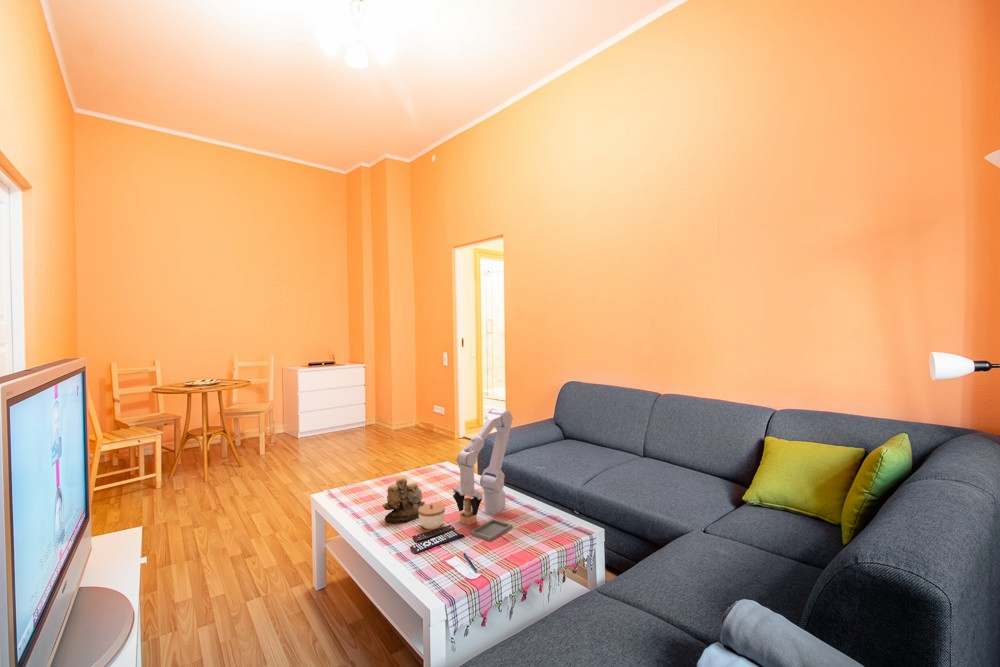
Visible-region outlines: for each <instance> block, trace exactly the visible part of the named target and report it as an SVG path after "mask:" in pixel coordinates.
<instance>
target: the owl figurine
mask: <svg viewBox="0 0 1000 667" xmlns="http://www.w3.org/2000/svg"><path fill="white" fill-rule="evenodd" d="M407 483H408V480H407V479H406V478H405V477H398V479H397V480H396V481H395V483H392V484H390V485H389V486H388V487H387V495H386V501H387V502H386V503H385V502H384V503H383V504H382V507H383V508H384V510H385V511H390V512H388V513H387V514H386V515H385V516H384V520H385V522H386V523H389V524H392V525H393V524H396V525H397V524H407V523H408V522H411V521H414V520H417V519H419V513H418V509H419V508H420V507H421V506H423V505H426V502H425V501H422V500H423V494H422V489H421V488H420V487H419V485H418V484H417V483H414V482H413V483H411V484H409V485H408V484H407Z"/></svg>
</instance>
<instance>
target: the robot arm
mask: <svg viewBox="0 0 1000 667" xmlns="http://www.w3.org/2000/svg"><path fill="white" fill-rule="evenodd" d="M485 415H486V418H485V422H484V424H483V425H482V427H481V429H480V430H479V432H478V434H477V435H475V436H473V437H471V439H470V441H469V442H468V444H467V445H466V446H465V448H464V449H463V450H460V452H458V454H457V456H456V463H458V468H459V478H460V479H459V480H460V481H459V484H460V486H454V487H453V488H452V491H453V492H452V493H454V494H453V495H452V496H453V499H454V500H455V503H456V505H457V509H458V511H459V512H462V511H464V499H465V498H466V497H465V496H467V497H470V498H471V499H470V502H471V507H472V514H473V516H475V515H476V516H477V515H478V512H479V507H480V504H481V503H482V500H483V501H484V502H483V505H484V506H483V508H481V509H480V511H481V512H484V513H487V514H488V513H489V514H491V515H496V514H498V513H500V512H502V511H503V510H505V509H507V507H508V506H506V492H505V490H504V486H505V473H504V472H503V471H502V467H503V462H504V457H505V452H506V449H507V445H508V441H509V437H510V436H509V435H510V432H511V426H512V424H513V418H514V417H513V415H512V413H511V411H510V410H503V409H497V408H491V409H489V410H488V412H487V413H486V414H485ZM493 429H495V430H496V436H495V439H494V444H493V448H492V451H491V456H490V461H489V465H488V467H486V468H485V469H483V472H482V474H481V476H480V479H479V484H480V487H482V490H483V493H482V492H479V491H478V490H476V489H475V465H476V464H477V460H478V455H479V453H480V452H481V450H482V449H483V448H484V446H485V440H486V438H487V437H488V436H489V435H490V433H491V432H492V431H493Z"/></svg>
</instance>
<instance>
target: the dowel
mask: <svg viewBox="0 0 1000 667" xmlns="http://www.w3.org/2000/svg"><path fill="white" fill-rule="evenodd" d="M470 499H472V497H464V509H463V512H464V517H471V516H472V505H471V502H470Z"/></svg>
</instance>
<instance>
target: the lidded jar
mask: <svg viewBox="0 0 1000 667" xmlns="http://www.w3.org/2000/svg"><path fill="white" fill-rule="evenodd" d="M445 507H446V506H445V505H444V504H442V503H437V502H436V503H434V502H433V503H432V502H431V503H427V504H426V503H425V504H424V505H423V506H421V507H420V508H419V509H418V513H419V518H418V521H419V524H420V526H422V528H424V529H426V530H436V529H439V528H440V527H441V526H442V524H443V523H444V521H445V515H446V514H445V511H446V508H445Z"/></svg>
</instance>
